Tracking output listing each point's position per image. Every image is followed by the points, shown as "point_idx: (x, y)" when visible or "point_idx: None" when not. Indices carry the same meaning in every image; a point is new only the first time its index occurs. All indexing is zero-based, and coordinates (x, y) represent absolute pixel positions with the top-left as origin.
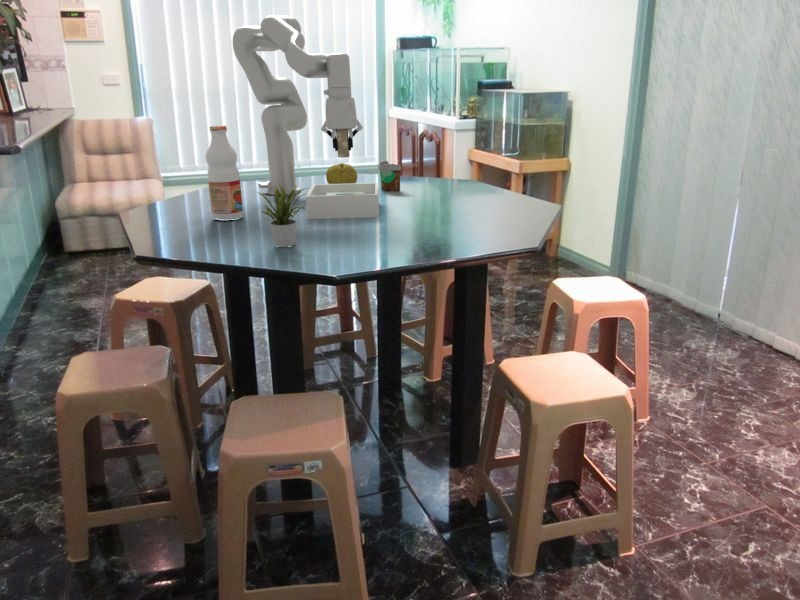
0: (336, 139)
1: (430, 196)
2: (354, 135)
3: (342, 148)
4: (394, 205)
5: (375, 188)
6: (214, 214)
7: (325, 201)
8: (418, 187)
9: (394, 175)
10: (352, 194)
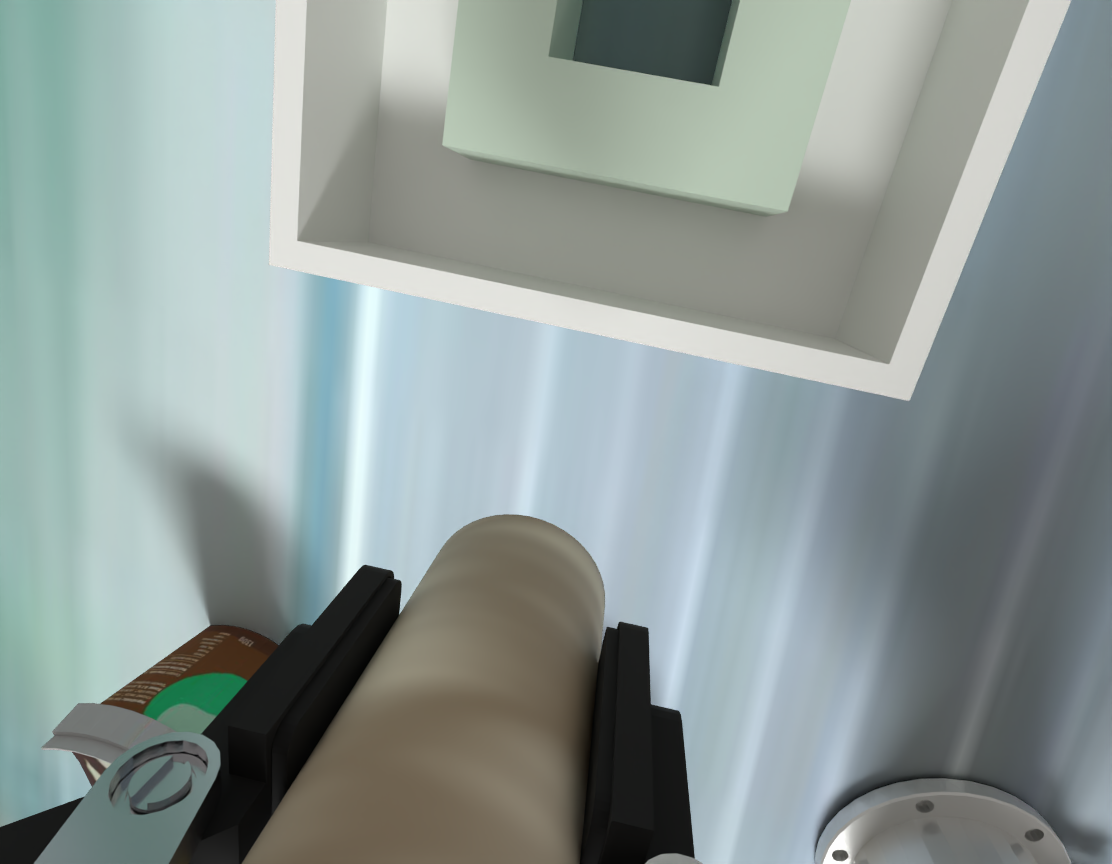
0: (597, 816)
1: (29, 391)
2: (65, 806)
3: (507, 597)
4: (258, 146)
5: None
6: None
7: None
8: (106, 685)
9: (160, 693)
10: (557, 58)
